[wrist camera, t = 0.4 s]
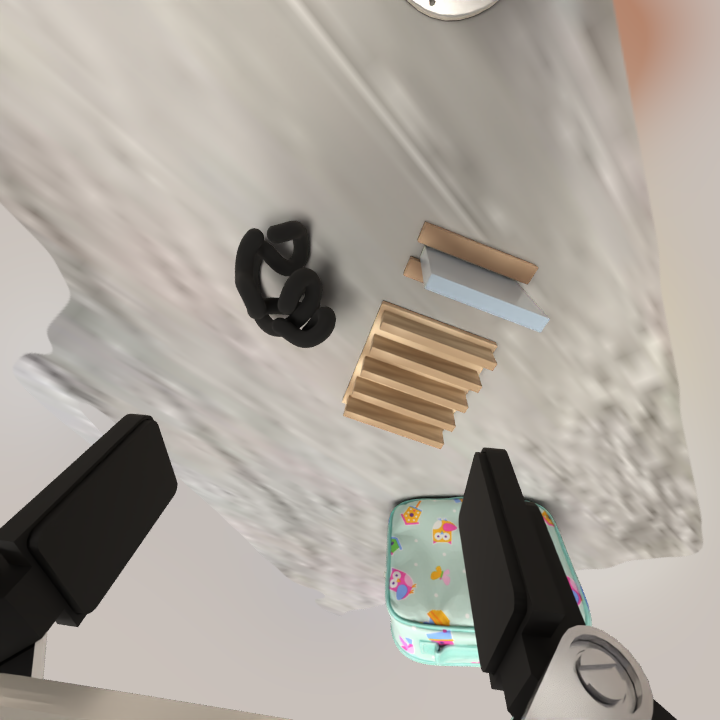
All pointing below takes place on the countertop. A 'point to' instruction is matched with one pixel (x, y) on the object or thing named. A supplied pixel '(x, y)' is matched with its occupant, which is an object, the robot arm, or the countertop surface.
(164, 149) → the countertop surface
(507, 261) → the wooden slats
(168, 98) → the countertop surface
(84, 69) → the countertop surface
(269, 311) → the squiggle
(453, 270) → the plate
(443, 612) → the lunch box
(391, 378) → the dish rack
